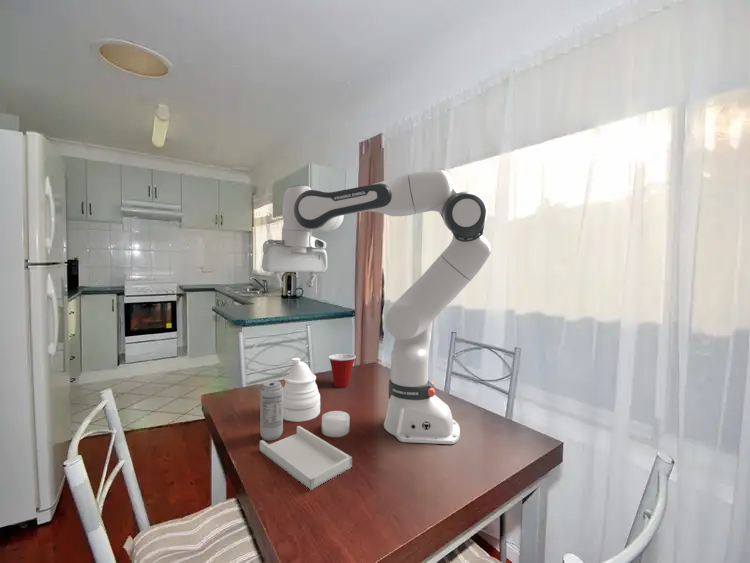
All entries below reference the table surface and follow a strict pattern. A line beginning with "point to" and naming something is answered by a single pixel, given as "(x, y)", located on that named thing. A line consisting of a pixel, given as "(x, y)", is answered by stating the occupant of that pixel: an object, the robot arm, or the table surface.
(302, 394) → the honey pot
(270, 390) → the energy drink can
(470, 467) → the table surface
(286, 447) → the tray
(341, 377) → the plastic cup
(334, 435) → the white rounded puck
